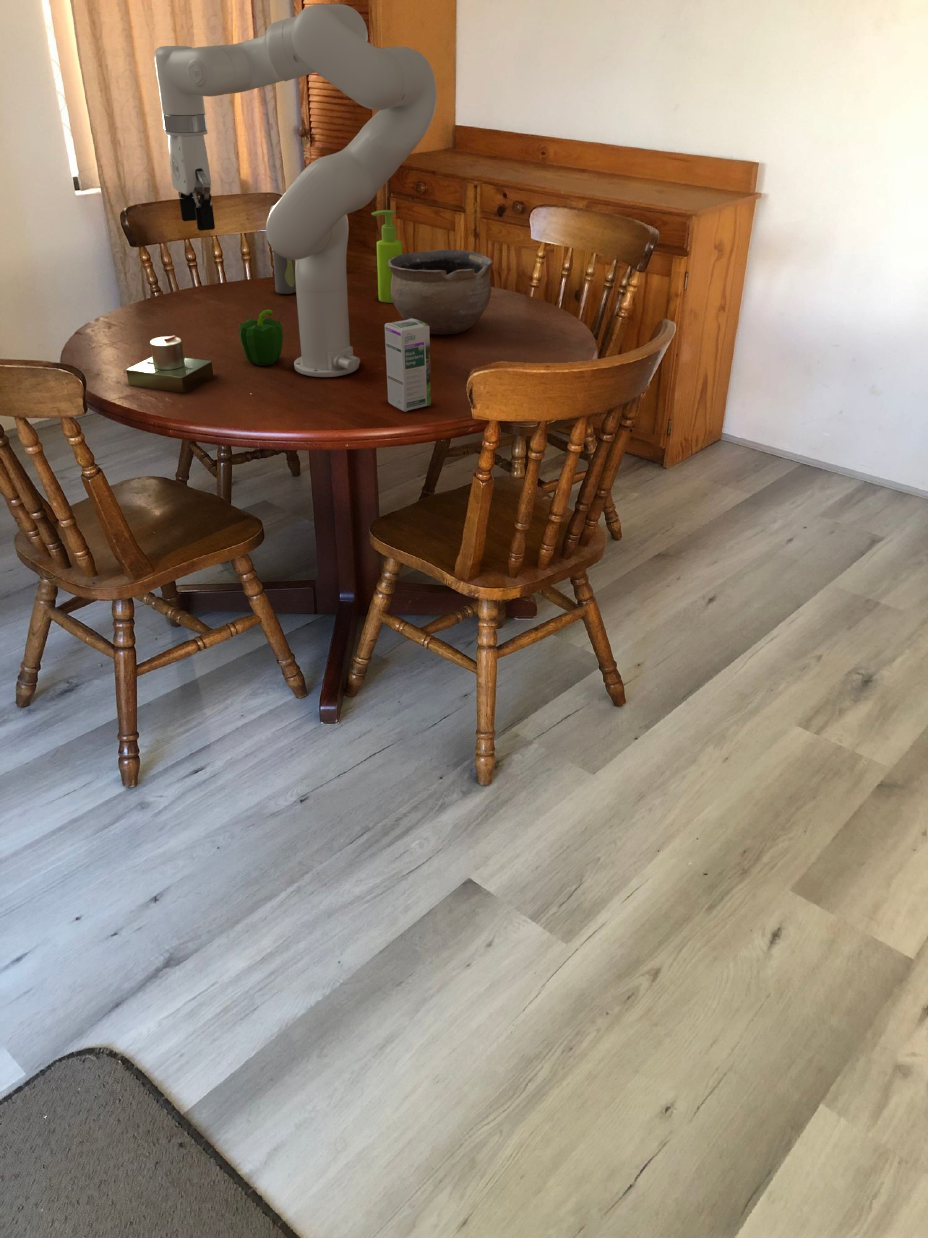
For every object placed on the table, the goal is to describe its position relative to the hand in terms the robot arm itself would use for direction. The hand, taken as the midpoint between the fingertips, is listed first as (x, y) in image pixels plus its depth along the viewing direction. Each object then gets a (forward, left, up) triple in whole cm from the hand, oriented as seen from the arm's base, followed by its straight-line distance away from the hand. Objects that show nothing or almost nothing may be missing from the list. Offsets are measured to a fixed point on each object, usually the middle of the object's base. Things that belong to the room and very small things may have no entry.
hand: (198, 224), depth 185 cm
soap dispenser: (+5, -52, -24) cm, 58 cm away
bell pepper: (-13, -3, -24) cm, 28 cm away
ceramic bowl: (-21, -44, -24) cm, 55 cm away
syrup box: (-50, -8, -24) cm, 56 cm away
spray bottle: (+27, -38, -24) cm, 53 cm away
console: (-10, +16, -24) cm, 31 cm away
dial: (-10, +16, -21) cm, 28 cm away
